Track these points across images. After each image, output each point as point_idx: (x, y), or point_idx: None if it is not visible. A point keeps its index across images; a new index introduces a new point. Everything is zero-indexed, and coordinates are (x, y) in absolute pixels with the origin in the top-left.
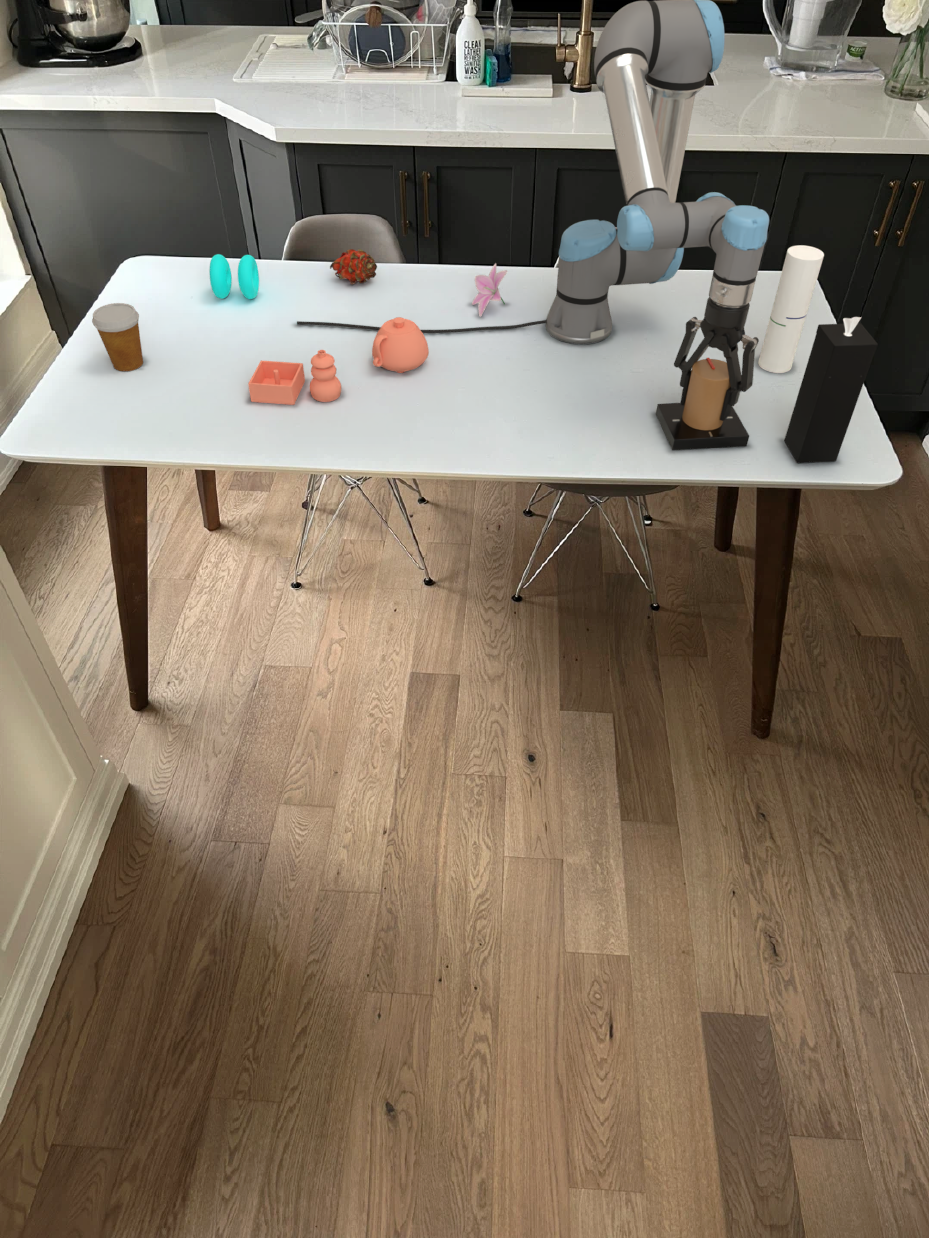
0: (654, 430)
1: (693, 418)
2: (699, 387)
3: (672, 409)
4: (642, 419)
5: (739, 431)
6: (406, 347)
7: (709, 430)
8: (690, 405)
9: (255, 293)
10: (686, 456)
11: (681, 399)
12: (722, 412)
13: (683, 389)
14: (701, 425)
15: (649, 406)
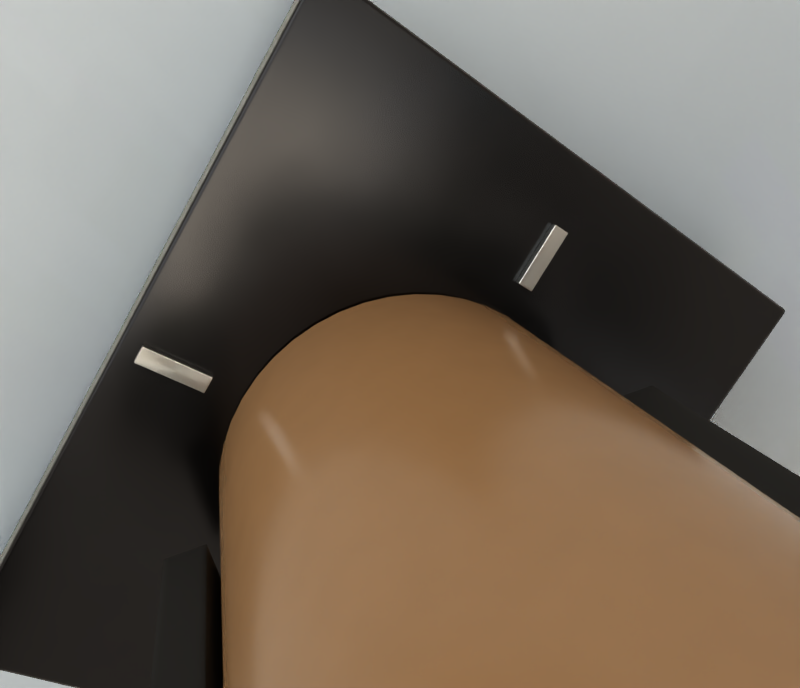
0: (602, 116)
1: (402, 329)
2: (645, 581)
3: (661, 355)
4: (746, 156)
5: (63, 623)
6: None
7: (237, 407)
8: (531, 366)
9: None
10: (150, 28)
11: (685, 413)
12: (192, 616)
13: (783, 474)
14: (299, 357)
15: (792, 322)
